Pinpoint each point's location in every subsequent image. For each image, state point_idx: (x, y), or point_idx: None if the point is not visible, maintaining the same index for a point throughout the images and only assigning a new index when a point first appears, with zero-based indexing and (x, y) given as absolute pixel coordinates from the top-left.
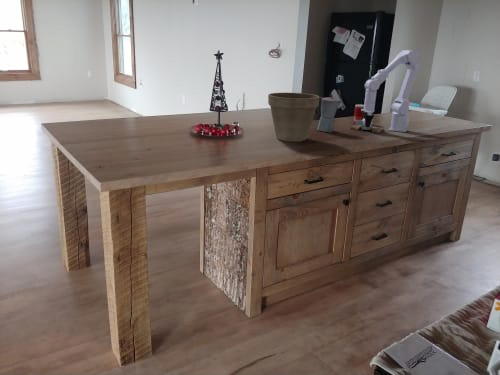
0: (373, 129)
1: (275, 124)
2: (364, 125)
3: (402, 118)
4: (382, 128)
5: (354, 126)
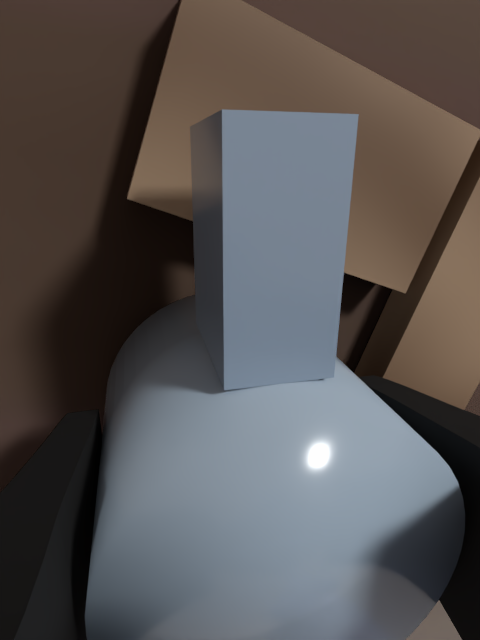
0: None
1: None
2: (118, 398)
3: None
4: None
5: None
